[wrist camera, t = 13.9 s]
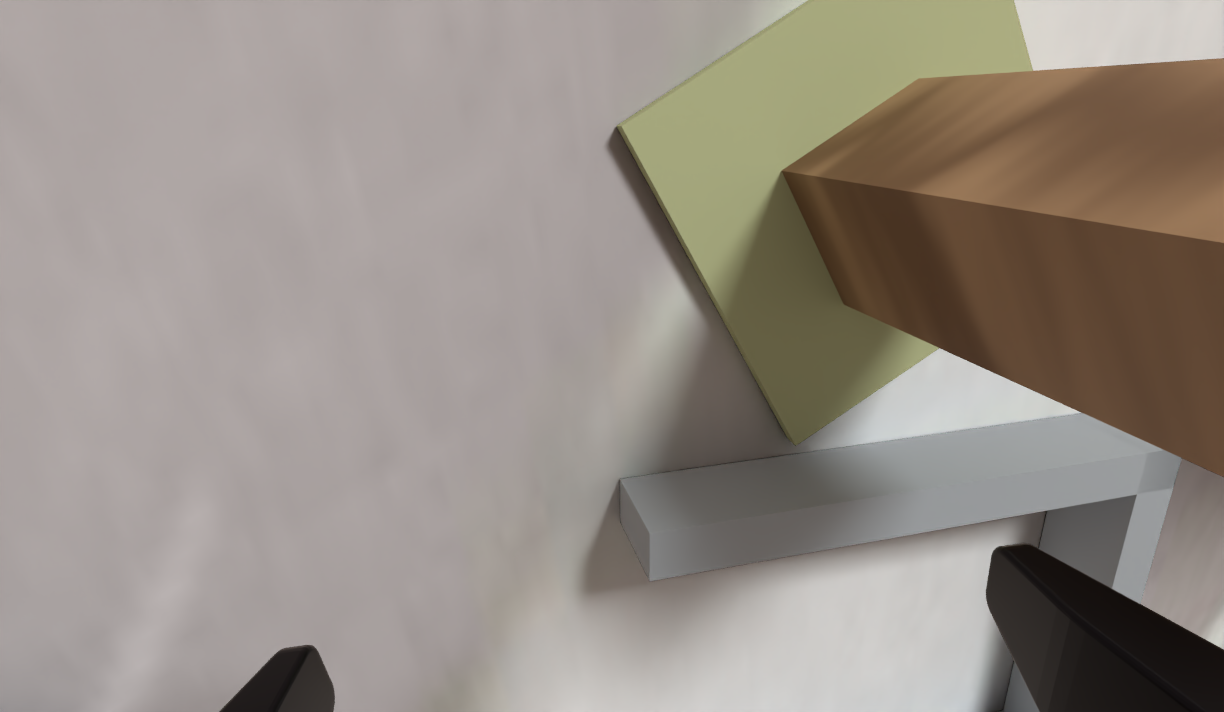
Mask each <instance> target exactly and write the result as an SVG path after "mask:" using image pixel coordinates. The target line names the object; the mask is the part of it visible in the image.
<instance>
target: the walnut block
mask: <svg viewBox="0 0 1224 712" xmlns="http://www.w3.org/2000/svg"><path fill="white" fill-rule="evenodd" d="M782 173H783V175H784V177H785V179H786V182H787V184H788V186H789V188H790V190H791V192H792V194H793V197H794V199H795V201H796V203H797V205H798V207H799V210H800V212H801V214H802V216H803V218H804V220H805V222H806V225H807V227H808V229H809V231H810V233H811V235H812V237H813V240H814V242H815V244H816V246H817V248H818V250H819V253H820V255H821V257H822V259H823V261H824V263H825V265H826V268H827V270H828V272H829V274H830V276H831V278H832V281H833V283H834V285H835V287H836V289H837V291H838V293H839V296H840V298H841V300H842V302H843V304H844V305H846V306H848V307H850V308H853V309H855V310H857V311H859V312H861V313H864V314H866V315H868V316H870V317H872V318H875V319H877V320H879V321H881V322H883V323H886V324H888V325H890V326H892V327H894V328H897V329H899V330H901V331H903V332H905V333H908V334H910V335H912V336H914V337H916V338H919V339H921V340H923V341H925V342H927V343H930V344H932V345H934V346H936V347H938V348H941V349H943V350H945V351H947V352H949V353H952V354H954V355H956V356H958V357H960V358H963V359H965V360H967V361H969V362H971V363H974V364H976V365H978V366H980V367H982V368H985V369H987V370H989V371H991V372H993V373H996V374H998V375H1000V376H1002V377H1004V378H1007V379H1009V380H1011V381H1013V382H1015V383H1018V384H1020V385H1022V386H1024V387H1026V388H1029V389H1031V390H1033V391H1035V392H1038V393H1040V394H1042V395H1044V396H1046V397H1049V398H1051V399H1053V400H1055V401H1057V402H1060V403H1062V404H1064V405H1066V406H1068V407H1071V408H1073V409H1075V410H1077V411H1079V412H1082V413H1084V414H1086V415H1088V416H1090V417H1093V418H1095V419H1097V420H1099V421H1101V422H1104V423H1106V424H1108V425H1110V426H1112V427H1115V428H1117V429H1119V430H1121V431H1123V432H1126V433H1128V434H1130V435H1132V436H1134V437H1137V438H1139V439H1141V440H1143V441H1145V442H1148V443H1150V444H1152V445H1154V446H1156V447H1159V448H1161V449H1163V450H1165V451H1167V452H1170V453H1172V454H1174V455H1176V456H1178V457H1181V458H1183V459H1185V460H1187V461H1189V462H1192V463H1194V464H1196V465H1198V466H1200V467H1203V468H1205V469H1207V470H1209V471H1211V472H1214V473H1216V474H1218V475H1220V476H1222V477H1224V58H1222V59H1207V60H1192V61H1176V62H1161V63H1146V64H1131V65H1116V66H1100V67H1085V68H1070V69H1055V70H1040V71H1024V72H1009V73H994V74H979V75H964V76H949V77H933V78H918V79H917V80H915V81H914V82H912V83H911V84H909V85H908V86H906V87H905V88H904V89H902V90H901V91H899V92H898V93H896V94H895V95H893V96H892V97H890V98H889V99H887V100H886V101H884V102H883V103H881V104H880V105H878V106H877V107H875V108H874V109H872V110H871V111H869V112H868V113H866V114H865V115H863V116H862V117H860V118H859V119H857V120H856V121H854V122H853V123H852V124H850V125H849V126H847V127H846V128H844V129H843V130H841V131H840V132H838V133H837V134H835V135H834V136H832V137H831V138H829V139H828V140H826V141H825V142H823V143H822V144H820V145H819V146H817V147H816V148H814V149H813V150H811V151H810V152H808V153H807V154H805V155H804V156H803V157H801V158H800V159H798V160H797V161H795V162H794V163H792V164H791V165H789V166H788V167H786V168H785V169H783V170H782Z"/></svg>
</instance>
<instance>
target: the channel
mask: <svg viewBox="0 0 1224 712" xmlns="http://www.w3.org/2000/svg"><path fill="white" fill-rule="evenodd" d="M1181 459H1182V458H1181V457H1178V456H1176V455H1174V454H1172V453H1170V452H1167V451H1165V450H1163V449H1161V448H1159V447H1156V446H1154V445H1152V444H1150V443H1148V442H1145V441H1143V440H1141V439H1139V438H1137V437H1134V436H1132V435H1130V434H1128V433H1126V432H1123V431H1121V430H1119V429H1117V428H1115V427H1112V426H1110V425H1108V424H1106V423H1104V422H1101V421H1099V420H1097V419H1095V418H1093V417H1090V416H1088V415H1086V414H1084V413H1082V414H1075V415H1068V416H1060V417H1053V418H1046V419H1039V420H1032V421H1025V422H1018V423H1011V424H1004V425H997V426H990V427H983V428H976V429H969V430H962V431H955V432H947V433H940V434H933V435H926V436H919V437H912V438H905V439H898V440H891V441H884V442H877V443H870V444H863V445H856V446H849V447H842V448H835V449H827V450H820V451H813V452H806V453H799V454H792V455H785V456H778V457H771V458H764V459H757V460H750V461H743V462H736V463H729V464H722V465H714V466H707V467H700V468H693V469H686V470H679V471H672V472H665V473H658V474H651V475H644V476H637V477H630V478H623V479H620V522H621V524H622V526H623V528H624V531H625V533H626V535H627V537H628V539H629V541H630V543H631V545H632V547H633V549H634V551H635V553H636V555H637V557H638V559H639V561H640V563H641V565H642V567H643V569H644V571H645V573H646V575H647V577H648V579H649V581H655V580H661V579H666V578H672V577H677V576H683V575H689V574H694V573H700V572H705V571H711V570H717V569H722V568H728V567H733V566H739V565H745V564H750V563H756V562H761V561H767V560H773V559H778V558H784V557H789V556H795V555H801V554H806V553H812V552H817V551H823V550H829V549H834V548H840V547H846V546H851V545H857V544H862V543H868V542H874V541H879V540H885V539H890V538H896V537H902V536H907V535H913V534H918V533H924V532H930V531H935V530H941V529H946V528H952V527H958V526H963V525H969V524H974V523H980V522H986V521H991V520H997V519H1002V518H1008V517H1014V516H1019V515H1025V514H1030V513H1036V512H1042V511H1047V514H1046V518H1045V523H1044V528H1043V532H1042V537H1041V541H1040V546H1039V549H1040V550H1042V551H1044V552H1046V553H1048V554H1049V555H1051V556H1053V557H1055V558H1057V559H1059V560H1060V561H1062V562H1064V563H1066V564H1068V565H1070V566H1071V567H1073V568H1075V569H1077V570H1079V571H1081V572H1082V573H1084V574H1086V575H1088V576H1090V577H1092V578H1093V579H1095V580H1097V581H1099V582H1101V583H1103V584H1104V585H1106V586H1108V587H1110V588H1112V589H1114V590H1115V591H1117V592H1119V593H1121V594H1123V595H1125V596H1126V597H1128V598H1130V599H1132V600H1134V601H1136V602H1137V603H1139V604H1140V603H1141V600H1142V596H1143V593H1144V589H1145V586H1146V582H1147V579H1148V575H1149V572H1150V568H1151V565H1152V561H1153V558H1154V554H1155V551H1156V547H1157V543H1158V540H1159V536H1160V533H1161V529H1162V526H1163V522H1164V519H1165V515H1166V512H1167V508H1168V505H1169V501H1170V498H1171V494H1172V491H1173V487H1174V484H1175V480H1176V476H1177V473H1178V469H1179V466H1180V462H1181ZM999 712H1039V710H1038V708H1037V706H1036V704H1035V702H1034V700H1033V698H1032V696H1031V694H1030V692H1029V690H1028V688H1027V686H1026V684H1025V682H1024V680H1023V678H1022V676H1021V674H1020V672H1019V670H1018V667H1017V665H1016V663H1015V661H1014V665H1013V669H1012V674H1011V678H1010V683H1009V687H1008V692H1007V696H1006V701H1005V706H1004V710H1003V711H999Z"/></svg>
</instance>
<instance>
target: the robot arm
mask: <svg viewBox="0 0 1224 712" xmlns="http://www.w3.org/2000/svg"><path fill="white" fill-rule="evenodd" d="M986 599H987V604H988V607H989V610H990V612H991V614H992V616H993V618H994V620H995V622H996V624H997V626H998V629H999V631H1000V633H1001V635H1002V637H1003V639H1004V641H1005V643H1006V645H1007V647H1008V649H1009V651H1010V653H1011V655H1012V657H1013V659H1014V661H1015V663H1016V665H1017V667H1018V670H1019V672H1020V674H1021V676H1022V678H1023V680H1024V682H1025V684H1026V686H1027V688H1028V690H1029V692H1030V694H1031V696H1032V698H1033V700H1034V702H1035V704H1036V706H1037V708H1038V710H1039V712H1224V650H1223V649H1222V648H1220V647H1218V646H1216V645H1214V644H1212V643H1211V642H1209V641H1207V640H1205V639H1203V638H1201V637H1200V636H1198V635H1196V634H1194V633H1192V632H1190V631H1189V630H1187V629H1185V628H1183V627H1181V626H1179V625H1178V624H1176V623H1174V622H1172V621H1170V620H1168V619H1167V618H1165V617H1163V616H1161V615H1159V614H1158V613H1156V612H1154V611H1152V610H1150V609H1148V608H1147V607H1145V606H1143V605H1141V604H1139V603H1137V602H1136V601H1134V600H1132V599H1130V598H1128V597H1126V596H1125V595H1123V594H1121V593H1119V592H1117V591H1115V590H1114V589H1112V588H1110V587H1108V586H1106V585H1104V584H1103V583H1101V582H1099V581H1097V580H1095V579H1093V578H1092V577H1090V576H1088V575H1086V574H1084V573H1082V572H1081V571H1079V570H1077V569H1075V568H1073V567H1071V566H1070V565H1068V564H1066V563H1064V562H1062V561H1060V560H1059V559H1057V558H1055V557H1053V556H1051V555H1049V554H1048V553H1046V552H1044V551H1042V550H1040V549H1039V548H1037V547H1035V546H1033V545H1030V544H1027V543H1020V544H1013V545H1006V546H999V547H997V548H996V549H995V550H994V551H993V553H992V557H991V563H990V569H989V575H988V581H987V587H986ZM334 703H335V694H334V687H333V684H332V682H331V679H330V677H329V675H328V673H327V670H326V668H325V666H324V664H323V661H322V659H321V657H320V655H319V652H318V651H317V649H316V648H315V647H314V646H312V645H303V646H296V647H289V648H284V649H281V650H280V651H278V652H277V653H276V654H275V655H274V656H273V657H272V658H271V659H270V660H269V661H268V662H267V663H266V664H265V665H264V666H263V667H262V668H261V669H260V670H259V671H258V672H257V673H256V674H255V675H254V676H253V677H252V678H251V679H250V681H249V682H248V683H247V684H246V685H245V686H244V687H243V688H242V689H241V690H240V691H239V692H238V693H237V694H236V695H235V696H234V697H233V698H232V699H231V700H230V701H229V702H228V703H227V704H226V705H225V706H224V707H223V708H222V709H221V710H220V711H219V712H333V711H334Z"/></svg>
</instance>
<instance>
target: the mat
mask: <svg viewBox="0 0 1224 712" xmlns="http://www.w3.org/2000/svg"><path fill="white" fill-rule="evenodd" d="M1024 71H1033V69H1032V65H1031V62H1030V58H1029V54H1028V51H1027V47H1026V43H1025V40H1024V36H1023V32H1022V29H1021V25H1020V21H1019V18H1018V14H1017V11H1016V7H1015V3H1014V0H808V1H807V2H805V3H804V4H802V5H801V6H799V7H798V8H796V9H794V10H793V11H791V12H790V13H788V14H787V15H785V16H784V17H782V18H781V19H779V20H778V21H776V22H775V23H773V24H772V25H770V26H768V27H767V28H765V29H764V30H762V31H761V32H759V33H758V34H756V35H755V36H753V37H752V38H750V39H749V40H747V41H746V42H744V43H742V44H741V45H739V46H738V47H736V48H735V49H733V50H732V51H730V52H729V53H727V54H726V55H724V56H723V57H721V58H720V59H718V60H716V61H715V62H713V63H712V64H710V65H709V66H707V67H706V68H704V69H703V70H701V71H700V72H698V73H697V74H695V75H694V76H692V77H690V78H689V79H687V80H686V81H684V82H683V83H681V84H680V85H678V86H677V87H675V88H674V89H672V90H671V91H669V92H668V93H666V94H664V95H663V96H661V97H660V98H658V99H657V100H655V101H654V102H652V103H651V104H649V105H648V106H646V107H645V108H643V109H642V110H640V111H638V112H637V113H635V114H634V115H632V116H631V117H629V118H628V119H626V120H625V121H623V122H622V123H620V124H619V125H617V128H618V130H619V132H620V133H621V135H622V137H623V139H624V141H625V143H626V144H627V146H628V148H629V150H630V152H631V154H632V155H633V157H634V159H635V161H636V163H637V164H638V166H639V168H640V170H641V172H642V174H643V175H644V177H645V179H646V181H647V183H648V185H649V186H650V188H651V190H652V192H653V194H654V196H655V197H656V199H657V201H658V203H659V205H660V206H661V208H662V210H663V212H664V214H665V216H666V217H667V219H668V221H669V223H670V225H671V227H672V228H673V230H674V232H675V234H676V236H677V237H678V239H679V241H680V243H681V245H682V247H683V248H684V250H685V252H686V254H687V256H688V258H689V259H690V261H691V263H692V265H693V267H694V268H695V270H696V272H697V274H698V276H699V278H700V279H701V281H702V283H703V285H704V287H705V289H706V290H707V292H708V294H709V296H710V298H711V300H712V301H713V303H714V305H715V307H716V309H717V310H718V312H719V314H720V316H721V318H722V320H723V321H724V323H725V325H726V327H727V329H728V331H729V332H730V334H731V336H732V338H733V340H734V341H735V343H736V345H737V347H738V349H739V351H740V352H741V354H742V356H743V358H744V360H745V362H746V363H747V365H748V367H749V369H750V371H751V372H752V374H753V376H754V378H755V380H756V382H757V383H758V385H759V387H760V389H761V391H762V393H763V394H764V396H765V398H766V400H767V402H768V404H769V405H770V407H771V409H772V411H773V413H774V414H775V416H776V418H777V420H778V422H779V424H780V425H781V427H782V429H783V431H784V433H785V435H786V436H787V438H788V440H790V441H791V442H792V443H793V444H794V445H795V446H796V445H798V444H799V443H801V442H802V441H804V440H805V439H807V438H808V437H810V436H811V435H812V434H814V433H815V432H817V431H818V430H820V429H821V428H823V427H824V426H826V425H827V424H829V423H830V422H832V421H833V420H835V419H836V418H837V417H839V416H840V415H842V414H843V413H845V412H846V411H848V410H849V409H851V408H852V407H854V406H855V405H857V404H858V403H859V402H861V401H862V400H864V399H865V398H867V397H868V396H870V395H871V394H873V393H874V392H876V391H877V390H879V389H880V388H882V387H883V386H884V385H886V384H887V383H889V382H890V381H892V380H893V379H895V378H896V377H898V376H899V375H901V374H902V373H904V372H905V371H906V370H908V369H909V368H911V367H912V366H914V365H915V364H917V363H918V362H920V361H921V360H923V359H924V358H926V357H927V356H929V355H930V354H931V353H933V352H934V351H936V350H937V349H939V348H938V347H936V346H934V345H932V344H930V343H927V342H925V341H923V340H921V339H919V338H916V337H914V336H912V335H910V334H908V333H905V332H903V331H901V330H899V329H897V328H894V327H892V326H890V325H888V324H886V323H883V322H881V321H879V320H877V319H875V318H872V317H870V316H868V315H866V314H864V313H861V312H859V311H857V310H855V309H853V308H850V307H848V306H846V305H844V304H843V302H842V300H841V298H840V296H839V293H838V291H837V289H836V287H835V285H834V283H833V281H832V278H831V276H830V274H829V272H828V270H827V268H826V265H825V263H824V261H823V259H822V257H821V255H820V253H819V250H818V248H817V246H816V244H815V242H814V240H813V237H812V235H811V233H810V231H809V229H808V227H807V225H806V222H805V220H804V218H803V216H802V214H801V212H800V210H799V207H798V205H797V203H796V201H795V199H794V197H793V194H792V192H791V190H790V188H789V186H788V184H787V182H786V179H785V177H784V175H783V173H782V170H783V169H785V168H786V167H788V166H789V165H791V164H792V163H794V162H795V161H797V160H798V159H800V158H801V157H803V156H804V155H805V154H807V153H808V152H810V151H811V150H813V149H814V148H816V147H817V146H819V145H820V144H822V143H823V142H825V141H826V140H828V139H829V138H831V137H832V136H834V135H835V134H837V133H838V132H840V131H841V130H843V129H844V128H846V127H847V126H849V125H850V124H852V123H853V122H854V121H856V120H857V119H859V118H860V117H862V116H863V115H865V114H866V113H868V112H869V111H871V110H872V109H874V108H875V107H877V106H878V105H880V104H881V103H883V102H884V101H886V100H887V99H889V98H890V97H892V96H893V95H895V94H896V93H898V92H899V91H901V90H902V89H904V88H905V87H906V86H908V85H909V84H911V83H912V82H914V81H915V80H917V79H918V78H933V77H949V76H964V75H979V74H994V73H1009V72H1024Z"/></svg>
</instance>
